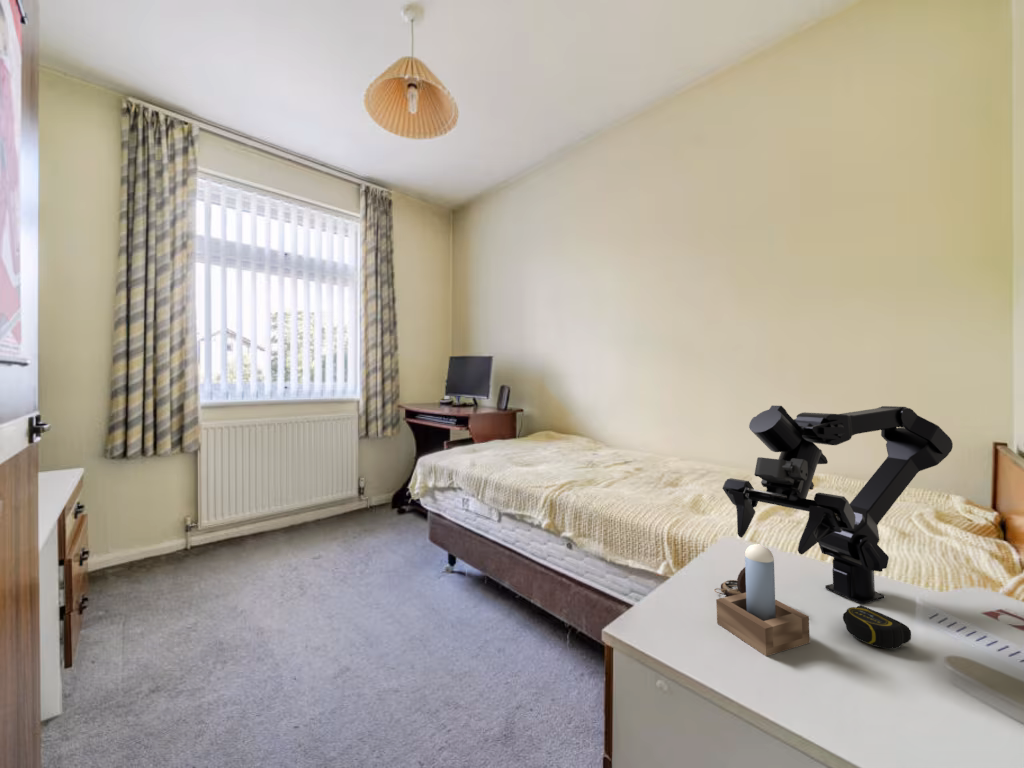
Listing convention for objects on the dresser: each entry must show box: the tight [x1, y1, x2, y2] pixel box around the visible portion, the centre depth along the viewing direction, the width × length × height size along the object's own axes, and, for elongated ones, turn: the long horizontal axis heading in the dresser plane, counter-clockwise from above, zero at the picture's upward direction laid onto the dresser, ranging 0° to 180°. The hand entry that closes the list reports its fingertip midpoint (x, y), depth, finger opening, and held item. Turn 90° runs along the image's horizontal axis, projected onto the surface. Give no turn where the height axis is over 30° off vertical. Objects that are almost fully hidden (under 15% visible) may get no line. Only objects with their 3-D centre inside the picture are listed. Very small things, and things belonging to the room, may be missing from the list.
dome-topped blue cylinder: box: [744, 543, 776, 621], centre depth 65 cm, size 4×4×13 cm
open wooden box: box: [716, 593, 811, 657], centre depth 65 cm, size 9×9×4 cm
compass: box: [714, 566, 746, 597], centre depth 77 cm, size 8×8×7 cm
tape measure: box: [842, 604, 912, 649], centre depth 63 cm, size 7×7×4 cm
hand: (768, 543), depth 67 cm, fingers open, 9 cm apart
